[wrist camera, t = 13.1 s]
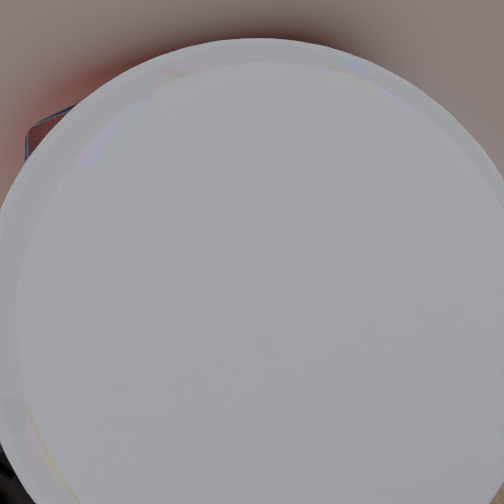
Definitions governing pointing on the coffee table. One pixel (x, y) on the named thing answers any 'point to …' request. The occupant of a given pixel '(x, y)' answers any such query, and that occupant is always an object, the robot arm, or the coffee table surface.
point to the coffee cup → (254, 290)
